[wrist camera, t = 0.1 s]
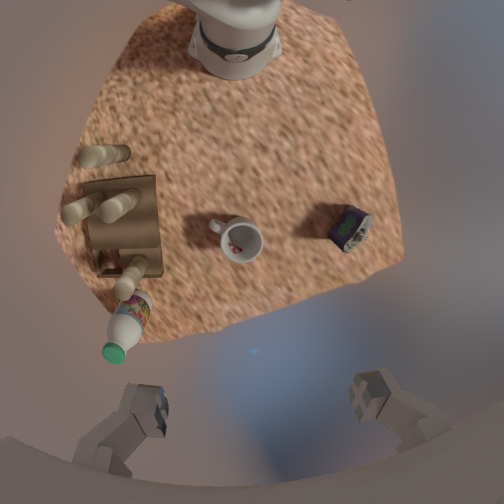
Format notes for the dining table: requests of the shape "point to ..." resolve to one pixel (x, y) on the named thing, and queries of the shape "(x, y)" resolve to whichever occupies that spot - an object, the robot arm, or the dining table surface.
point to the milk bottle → (126, 326)
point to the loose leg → (103, 155)
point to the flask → (350, 228)
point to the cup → (238, 238)
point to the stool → (121, 228)
